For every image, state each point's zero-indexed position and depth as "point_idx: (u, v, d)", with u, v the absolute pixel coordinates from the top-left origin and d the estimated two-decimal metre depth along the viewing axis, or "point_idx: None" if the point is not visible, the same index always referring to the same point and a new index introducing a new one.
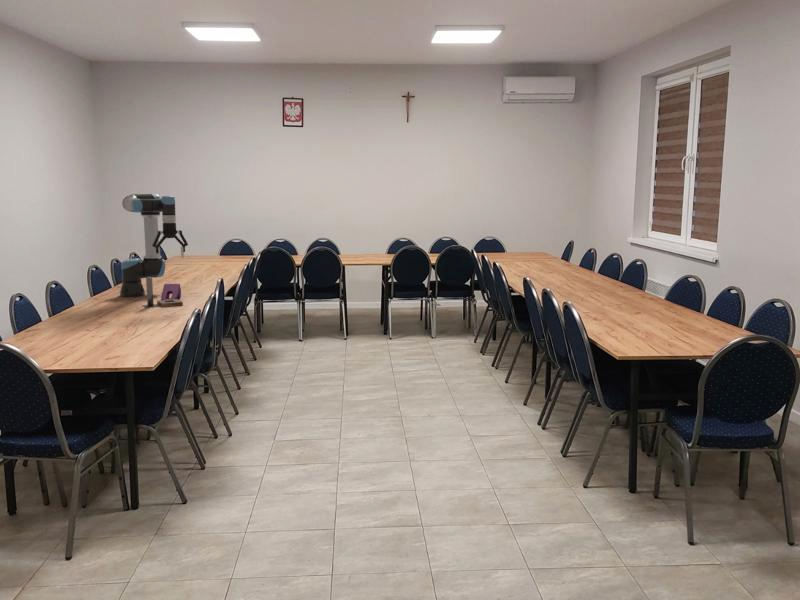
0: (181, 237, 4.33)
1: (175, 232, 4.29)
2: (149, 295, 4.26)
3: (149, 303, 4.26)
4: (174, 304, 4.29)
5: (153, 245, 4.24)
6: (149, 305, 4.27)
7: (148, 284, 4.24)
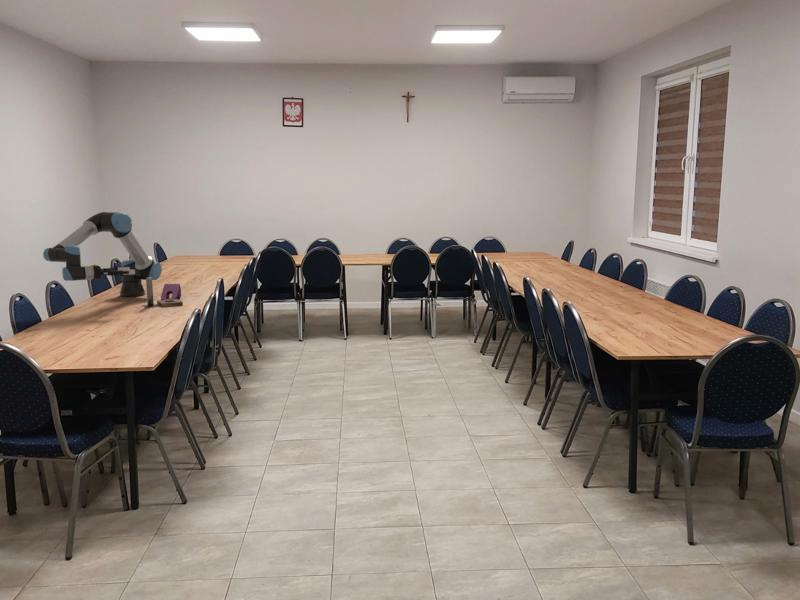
0: None
1: None
2: (149, 295, 4.26)
3: (149, 303, 4.26)
4: (174, 304, 4.29)
5: None
6: (149, 305, 4.27)
7: (148, 284, 4.24)
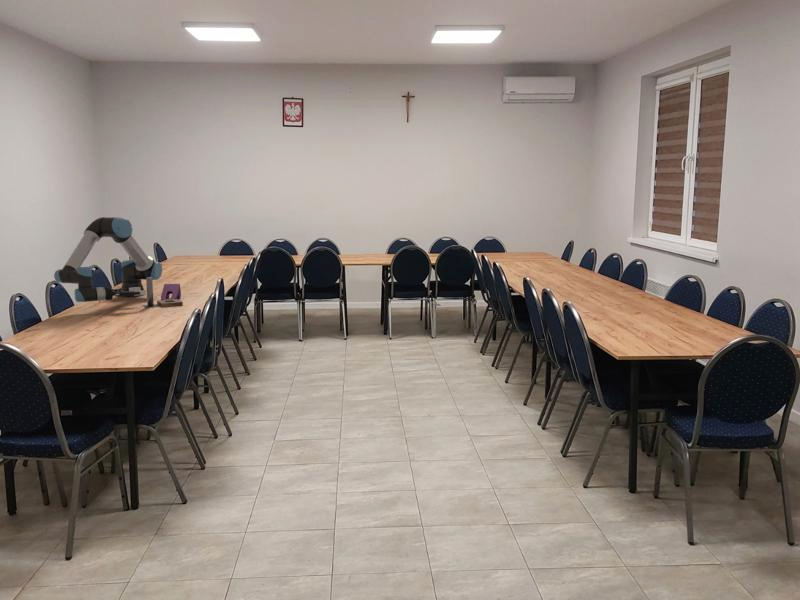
0: None
1: None
2: (149, 295, 4.26)
3: (149, 303, 4.26)
4: (174, 304, 4.29)
5: None
6: (149, 305, 4.27)
7: (148, 284, 4.25)
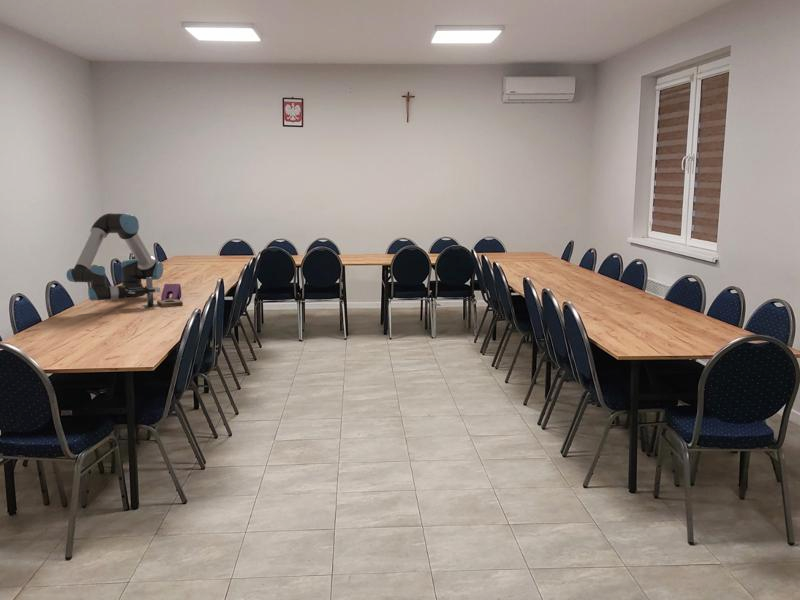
0: None
1: (129, 294, 4.18)
2: (149, 295, 4.26)
3: (149, 303, 4.26)
4: (174, 304, 4.29)
5: None
6: (149, 305, 4.27)
7: (148, 284, 4.24)
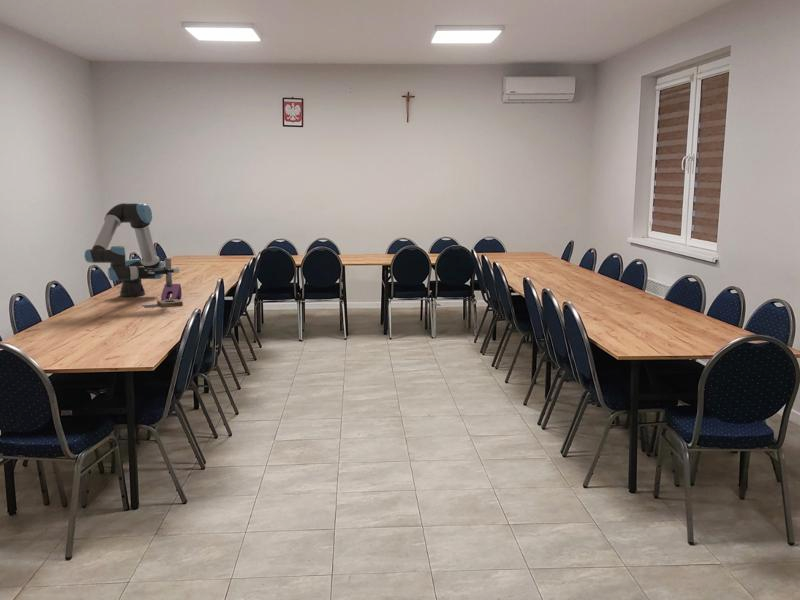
0: None
1: None
2: (168, 276, 4.29)
3: (168, 284, 4.29)
4: (174, 304, 4.29)
5: None
6: (168, 286, 4.30)
7: (167, 265, 4.27)
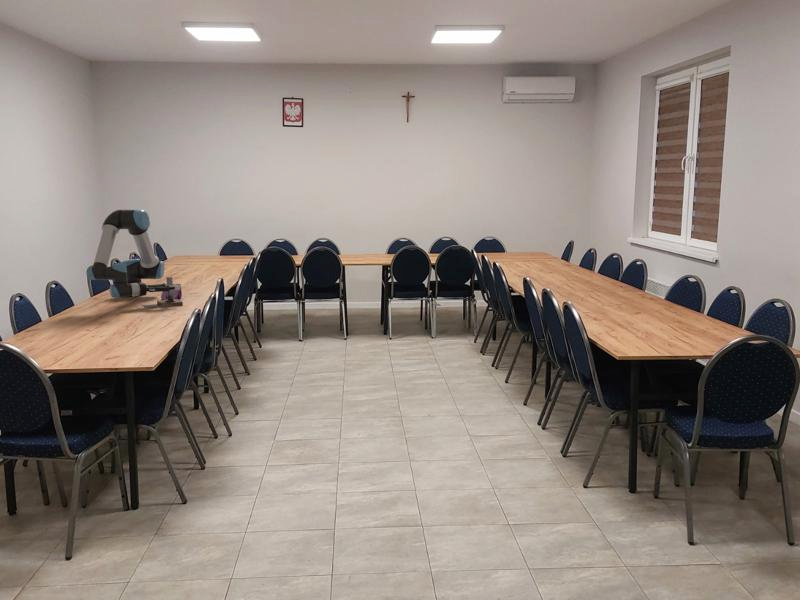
0: None
1: (150, 291, 4.23)
2: (169, 294, 4.31)
3: None
4: (174, 304, 4.29)
5: None
6: None
7: (168, 284, 4.30)
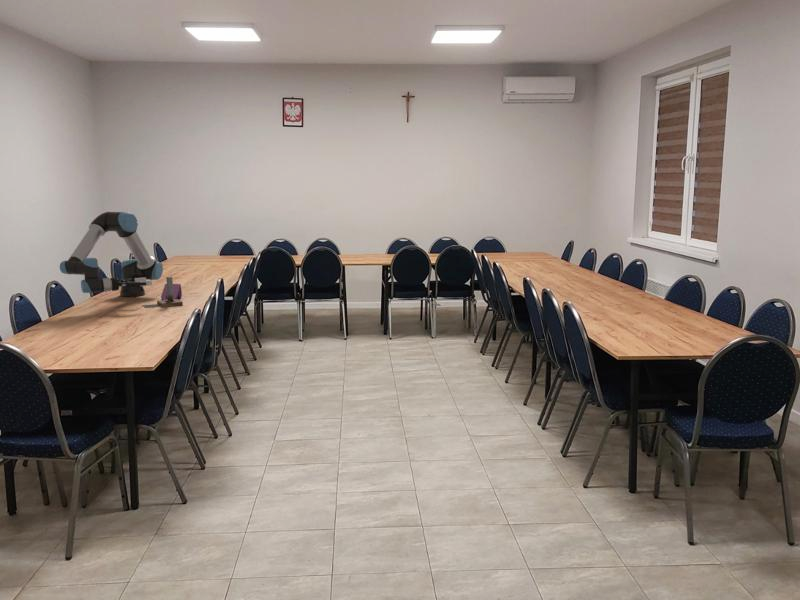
0: None
1: None
2: (169, 294, 4.31)
3: None
4: (174, 304, 4.29)
5: None
6: None
7: (168, 284, 4.30)
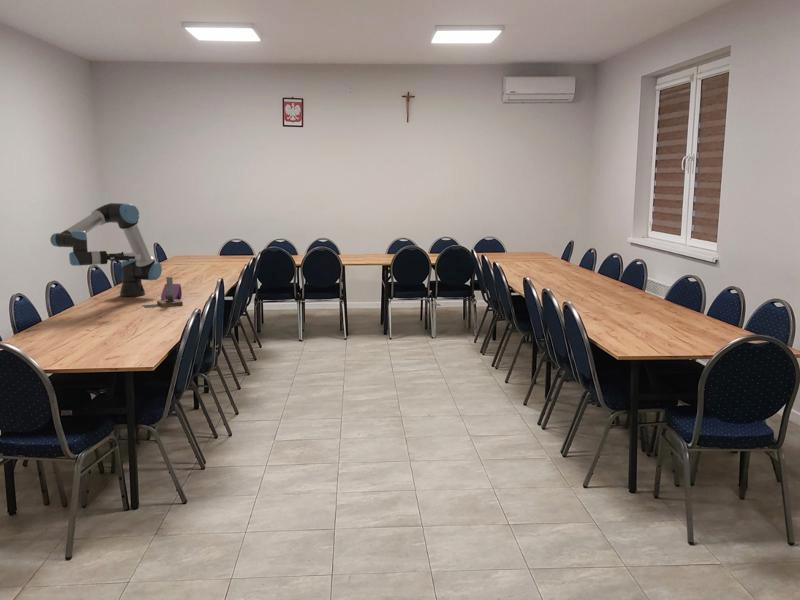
0: None
1: None
2: (169, 294, 4.31)
3: None
4: (174, 304, 4.29)
5: None
6: None
7: (168, 284, 4.30)
